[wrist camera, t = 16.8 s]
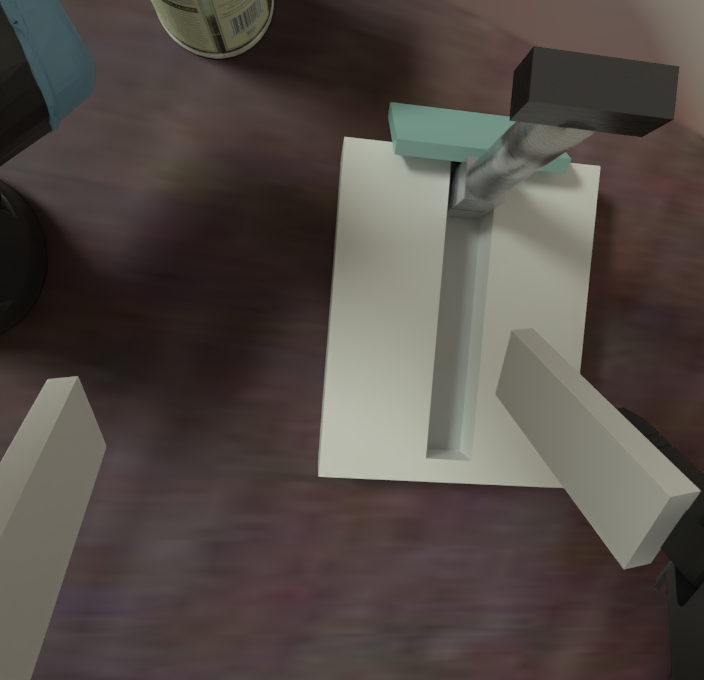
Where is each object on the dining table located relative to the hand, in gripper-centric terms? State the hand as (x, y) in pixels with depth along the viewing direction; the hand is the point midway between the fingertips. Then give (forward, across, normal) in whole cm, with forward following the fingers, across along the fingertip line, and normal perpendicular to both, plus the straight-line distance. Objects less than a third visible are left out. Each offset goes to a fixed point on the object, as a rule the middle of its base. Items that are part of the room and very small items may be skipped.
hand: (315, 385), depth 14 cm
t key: (+26, +17, -2) cm, 31 cm away
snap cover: (+27, +17, +2) cm, 32 cm away
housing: (+22, +15, -12) cm, 30 cm away
